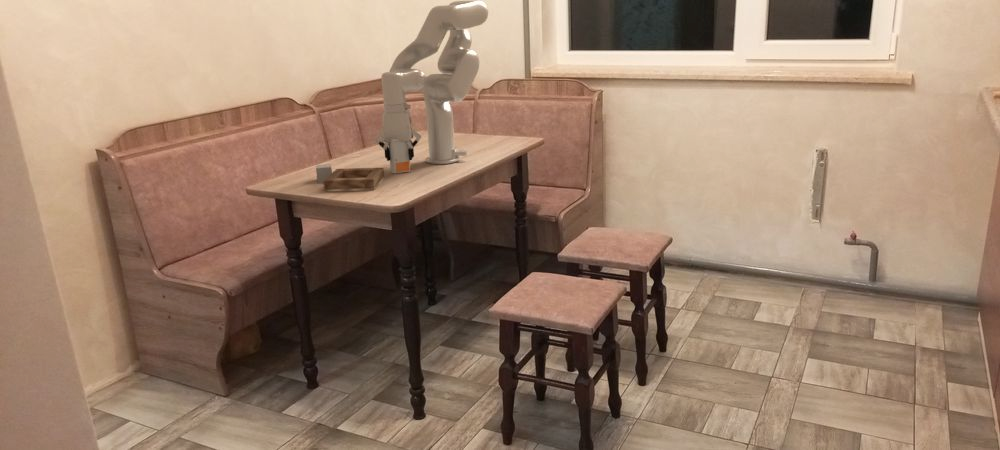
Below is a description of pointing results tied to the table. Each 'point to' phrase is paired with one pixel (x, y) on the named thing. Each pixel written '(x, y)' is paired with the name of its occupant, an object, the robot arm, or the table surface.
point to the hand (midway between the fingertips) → (399, 159)
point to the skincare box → (399, 156)
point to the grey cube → (323, 172)
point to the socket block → (354, 179)
